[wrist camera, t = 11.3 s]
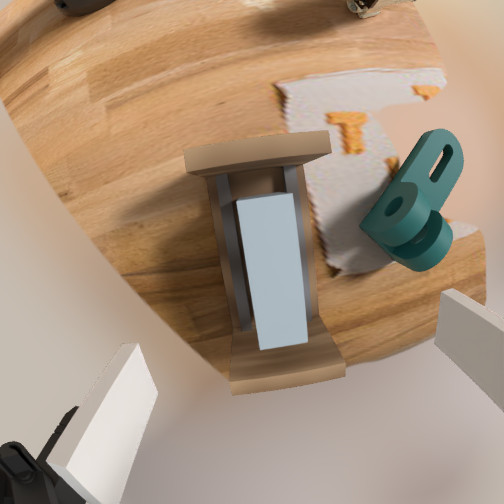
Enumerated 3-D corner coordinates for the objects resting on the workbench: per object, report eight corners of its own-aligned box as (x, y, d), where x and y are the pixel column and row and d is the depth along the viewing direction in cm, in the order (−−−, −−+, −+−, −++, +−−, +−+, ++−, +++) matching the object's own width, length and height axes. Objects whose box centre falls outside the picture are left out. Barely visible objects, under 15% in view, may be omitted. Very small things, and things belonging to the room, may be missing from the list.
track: (205, 163, 28) (183, 149, 18) (298, 150, 28) (328, 130, 18) (235, 335, 33) (232, 395, 22) (317, 322, 33) (345, 376, 22)
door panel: (238, 197, 28) (236, 201, 20) (277, 192, 28) (292, 193, 20) (256, 306, 31) (260, 350, 22) (291, 301, 31) (308, 342, 22)
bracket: (393, 260, 32) (429, 279, 24) (358, 226, 31) (390, 237, 23) (459, 157, 29) (498, 155, 21) (430, 120, 28) (468, 110, 20)
